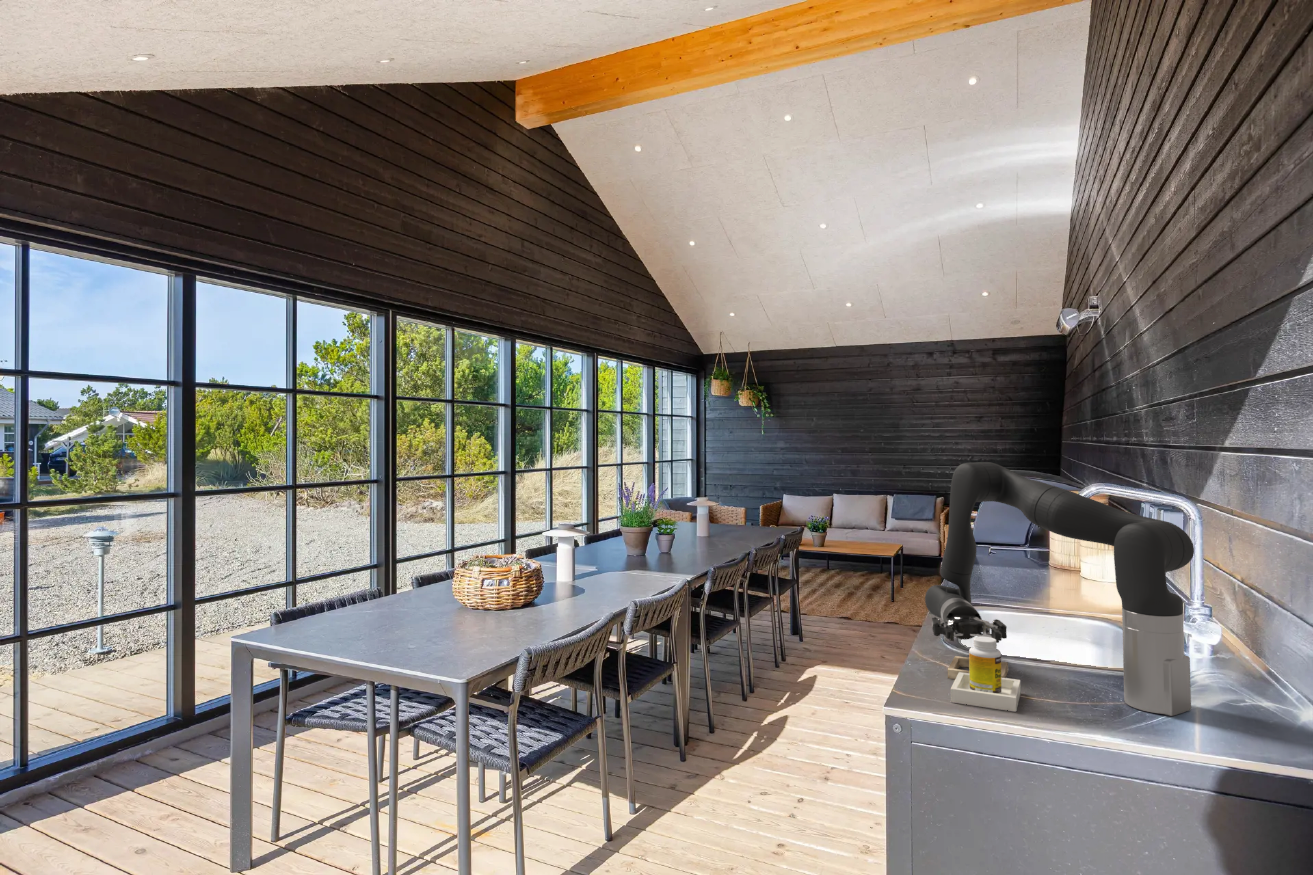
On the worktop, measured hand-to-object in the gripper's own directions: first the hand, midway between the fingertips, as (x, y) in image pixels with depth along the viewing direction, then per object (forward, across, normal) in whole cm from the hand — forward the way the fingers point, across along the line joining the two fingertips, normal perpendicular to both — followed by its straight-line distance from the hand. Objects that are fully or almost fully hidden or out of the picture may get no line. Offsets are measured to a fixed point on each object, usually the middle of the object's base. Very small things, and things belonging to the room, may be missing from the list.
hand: (974, 636), depth 150 cm
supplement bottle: (+10, 0, +8) cm, 13 cm away
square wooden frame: (-4, +1, +9) cm, 10 cm away
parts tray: (+10, 0, +9) cm, 13 cm away
